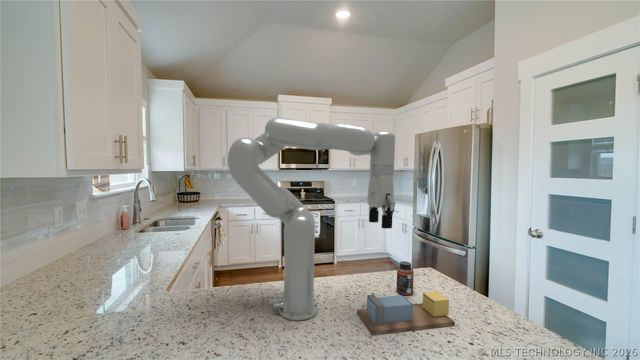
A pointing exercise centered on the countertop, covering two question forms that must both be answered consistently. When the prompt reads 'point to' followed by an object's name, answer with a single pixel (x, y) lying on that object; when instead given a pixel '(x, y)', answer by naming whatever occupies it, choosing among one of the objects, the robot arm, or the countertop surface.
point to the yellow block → (435, 304)
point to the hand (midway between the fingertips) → (379, 225)
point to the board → (407, 322)
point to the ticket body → (389, 309)
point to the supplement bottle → (405, 278)
